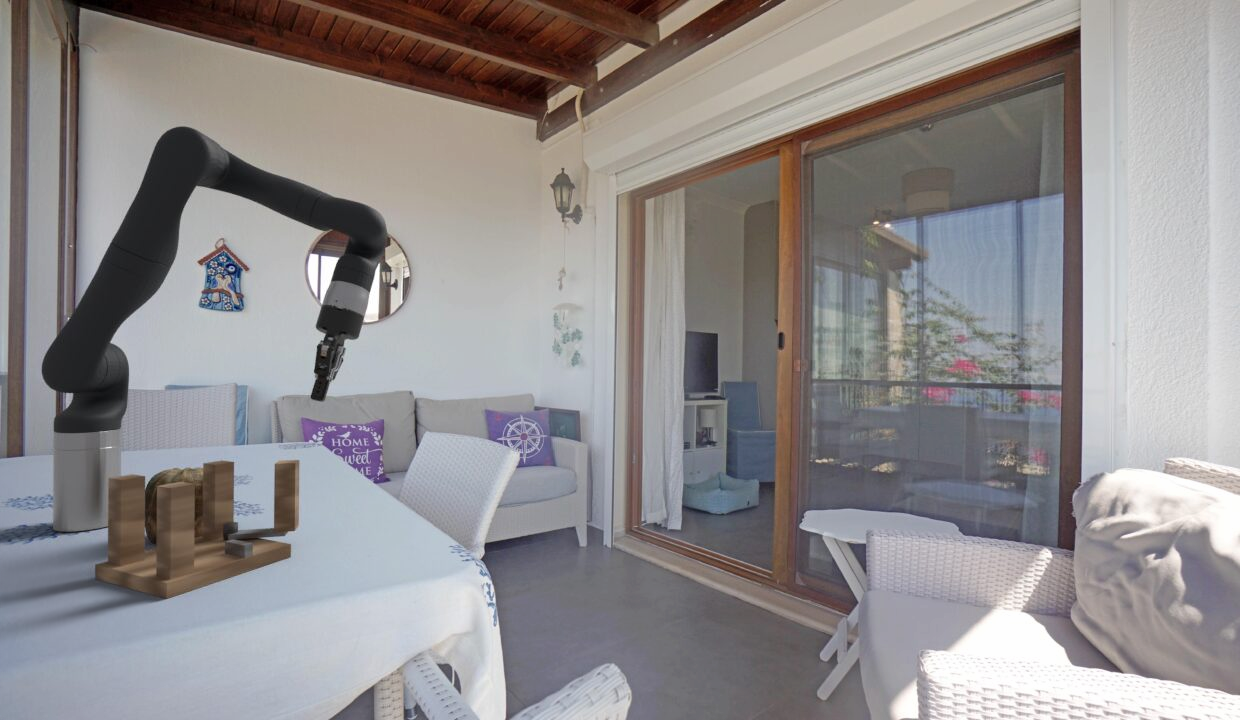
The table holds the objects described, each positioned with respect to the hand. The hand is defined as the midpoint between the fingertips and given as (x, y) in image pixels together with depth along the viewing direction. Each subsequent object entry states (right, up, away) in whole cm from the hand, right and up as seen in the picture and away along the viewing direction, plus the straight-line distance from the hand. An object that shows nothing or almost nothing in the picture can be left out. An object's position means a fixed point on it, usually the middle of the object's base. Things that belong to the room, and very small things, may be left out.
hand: (317, 400), depth 110 cm
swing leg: (-3, -21, -12) cm, 24 cm away
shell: (-20, -23, -6) cm, 31 cm away
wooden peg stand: (-8, -23, -20) cm, 32 cm away
